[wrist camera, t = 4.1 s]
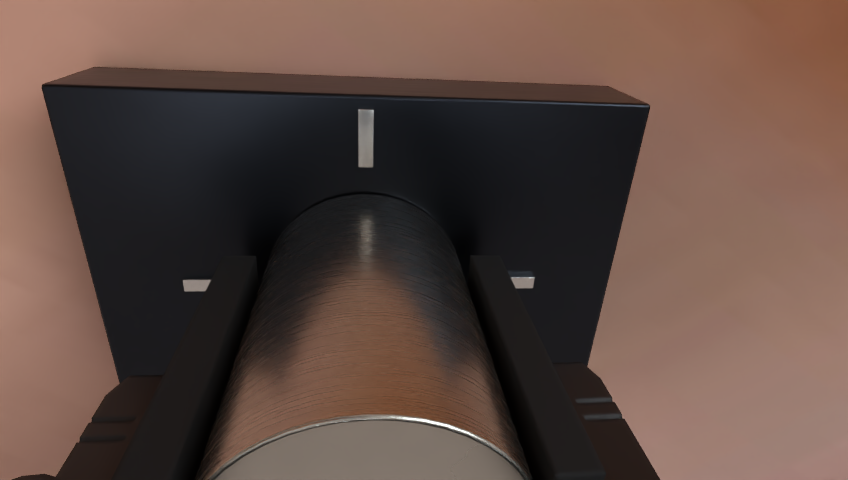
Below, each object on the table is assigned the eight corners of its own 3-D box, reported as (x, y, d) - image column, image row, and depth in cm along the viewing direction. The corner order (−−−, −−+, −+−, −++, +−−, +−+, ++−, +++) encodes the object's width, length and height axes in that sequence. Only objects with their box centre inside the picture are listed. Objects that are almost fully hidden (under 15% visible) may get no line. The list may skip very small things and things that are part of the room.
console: (609, 85, 15) (655, 105, 13) (553, 360, 20) (579, 413, 17) (92, 66, 13) (34, 85, 11) (158, 370, 18) (127, 430, 16)
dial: (468, 194, 13) (580, 428, 6) (452, 356, 16) (522, 655, 9) (258, 191, 13) (135, 445, 6) (274, 360, 15) (198, 686, 8)
